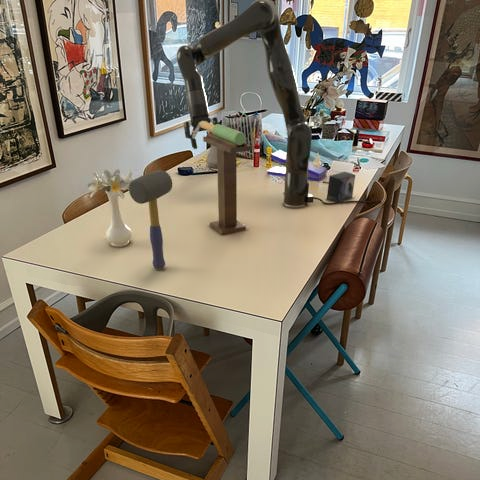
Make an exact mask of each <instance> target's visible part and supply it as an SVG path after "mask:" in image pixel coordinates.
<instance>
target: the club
mask: <svg viewBox="0 0 480 480" xmlns="http://www.w3.org/2000/svg"><path fill="white" fill-rule="evenodd" d="M200 127H201V128H204V129H206V131H207V130H209V131H211V132H213V134H214V135H216V136H218V137H220V138H223V139H225V140H228V141H230V142H233V143H235V144H237V145H242V144H243V143H244V142H246V135H245V133H244V132H241V131H239V130H236V129H234V128H232V127H228V126H225V125H223V124H220V123H218V124H216V125H213V124H212V123H211V122H210V123H208V122H205V121H201V122H200Z"/></svg>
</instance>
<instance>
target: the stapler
mask: <svg viewBox="0 0 480 480" xmlns="http://www.w3.org/2000/svg"><path fill="white" fill-rule="evenodd" d="M286 154H287V151H284V150H281V149H278V150H276V151H274V152H272V153H271V154H270V159H273V162H274V163H277V164H280V165H283V166H285V167H283V166H274V167H272V168H270V169H268V170H267V172H266V173H267V175H272V176H280V177H285V169H286ZM313 163H314V162H312V161H309V166H308V179H307V181H308V180H309V181H314V182H315V181H316V182H320V181H321V180H322V179H323V178H325V177H326V176H327V172H328V168H327V167H324V166H322V165H319V166H320V167H318V168H317V167H314V165H313Z"/></svg>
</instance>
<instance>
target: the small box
mask: <svg viewBox="0 0 480 480" xmlns="http://www.w3.org/2000/svg"><path fill="white" fill-rule="evenodd" d="M355 179H356V174H354V173H350V172H348V171H342V172H339V173H334V174H329V177H328V183H327V184H328V185H327V186H328V187H327V194H326V200H327V201H330V202H332V203H334V202H345V201H349V200H351V199H353V195H354V188H355V187H354V186H355V181H356V180H355Z"/></svg>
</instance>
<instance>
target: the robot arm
mask: <svg viewBox="0 0 480 480" xmlns="http://www.w3.org/2000/svg"><path fill="white" fill-rule="evenodd" d="M279 18H280V17H279V13H278V8H277V6H276V4H275V3H274V1H272V0H254V1H253V2H252V3H251V4H250V5H249V6H248V7H247V8H246V9H245V10H243V12H241V13H240V14H239V15H237V16H236V17H235V18H233V19H231V20H230V21H228V22H226V23H224V24H222V25H221V26H219V27H216V28H215V29H213V30H211V31H209V32H207V33H206V34H204V35H203V36H201V37H200V38H199V39H198V42H197V43H195V44H193V45H187V44H185V45H181V46H179V48H178V49H177V52H176V62H177V66H178V68H179V72H180V74H181V77H182V79H183V82H184V88H185V94H186V104H187V107H188V108H187V109H188V113H189V118H190V121H183V129H184V137H185V139H189V140H190V144H191V147H192V149H193V150H197V149H198V145H197V139H196V138H197V137H196V136H197V134H198V133H199V132H200V133H201V132H207V133H211V134H213V132H211V131H209V130H206V129H204V128H201V127H200V122H201V121H205V122H208V123H210V124H213V125H216V124H219V119H218V117H217V116H214V117H212V118H210V113H209V107H208V100H207V95H206V92H205V88H204V80H203V77H202V75H201V74H200V72H198V70H197V67H198V66H200V65H202V64H203V63H204V62H205V61H207V60H208V59H209V58H210V57H212V56H214V55H216V54H218V53H220V52H221V51H223V50H224V49H226V48H228V47H229V46H230V45H232V44H234V43H235V42H237V41H238V40H240V39H243V38H244V37H246V36H249V35H251V34H254V33H257V32H258V33H259V35H260V37H261V40H262V43H263V48H264V54H265V64H266V72H267V76H268V80H269V83H270V86H271V89H272V92H273V94H274V96H275V98H276V101H277V103H278V105H279V107H280V109H281V112H282V115H283V119H284V125H285V127H286V136H287V141H286V152H287V154H286V166H285V168H286V169H285V176H284V189H283V190H284V191H283V202H282V203H283V206H284V207H286V208H289V209H301V208H304V207H307V206H308V204H310V203H311V204H312V203H314V200H317V201H319V202H321V203H322V204H324V205H327V206H331V205H342V204H351V203H353V204H354V203H359V204H360V203H361V204H373V203H380V204H381V202H383V201H382V200H380V199H374V200H344V201H341V202H325V201H323V199H322V198H320V197H315V195H313V194H311V193H309V191H310V183H309V182H308V166H309V162H310V157H311V148H312V137H313V135H312V134H313V133H312V129H311V127H310V124H309V123H308V121H307V119H306V117H305V114H304V111H303V109H302V105H301V102H300V95H299V94H300V93H299V88H298V87H299V86H298V83H297V78H296V75H295V72H294V71H295V70H294V68H293V65H292V62H291V58H290V55H289V52H288V49H287V47H286V44H285V41H284V38H283V33H282V29H281V23H280V19H279ZM190 127H192V130H191V128H190ZM213 135H214V134H213Z"/></svg>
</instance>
